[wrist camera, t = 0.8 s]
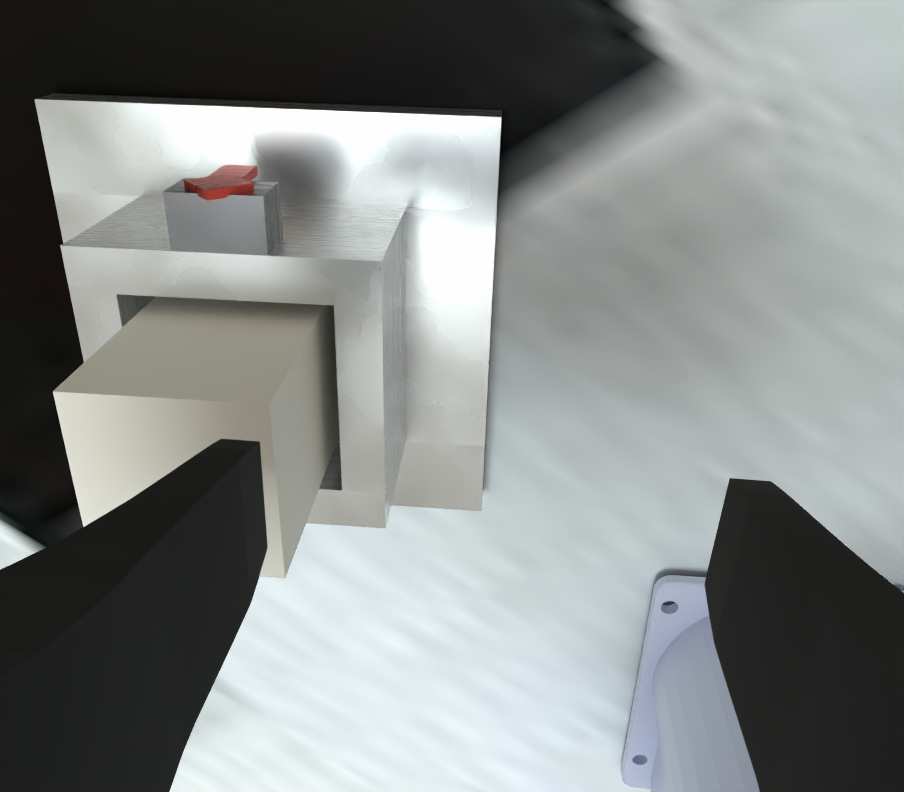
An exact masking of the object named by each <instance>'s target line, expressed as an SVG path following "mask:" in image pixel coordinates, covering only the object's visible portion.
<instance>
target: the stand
mask: <svg viewBox="0 0 904 792" xmlns="http://www.w3.org/2000/svg"><path fill="white" fill-rule="evenodd" d="M35 104H36V108H37V113H38V118H39V123H40V128H41V133H42V138H43V143H44V148H45V153H46V158H47V163H48V168H49V173H50V178H51V183H52V188H53V193H54V198H55V203H56V208H57V213H58V218H59V223H60V228H61V233H62V238H63V243H64V244H62V245H61V251H62V256H63V261H64V266H65V271H66V276H67V281H68V286H69V291H70V295H71V300H72V305H73V310H74V315H75V320H76V325H77V330H78V335H79V340H80V345H81V350H82V355H83V360H84V362H85V361H87V360H88V359H89V358H90V357H91V356H92V355H93V354H94V353H95V352H96V351H97V350H98V349H100V348H101V347H102V346H103V345H104V344H105V343H106V342H107V341H108V340H109V339H110V338H111V337H113V336H114V335H115V334H116V333H117V332H118V331H119V330H120V329H121V328H122V327H123V326H124V325H126V324H127V323H128V322H129V321H130V320H131V319H132V318H133V317H134V316H135V315H136V314H137V313H138V312H140V311H141V310H142V309H143V308H144V307H145V306H146V305H147V304H148V303H149V302H150V301H151V300H153V299H154V298H155V297H156V296H159V297H178V298H198V299H217V300H237V301H256V302H276V303H295V304H315V305H334V320H335V342H336V365H337V387H338V410H339V432H340V435H339V438H338V440H337V443H336V445H335V448H334V451H333V453H332V456H331V459H330V461H329V464H328V466H327V469H326V472H325V474H324V477H323V480H322V482H321V485H320V487H319V490H318V493H317V495H316V498H315V501H314V503H313V506H312V509H311V511H310V514H309V516H308V519H307V522H306V523H315V524H330V525H345V526H360V527H376V528H386V523H387V519H388V515H389V511H390V506H391V505H398V506H414V507H429V508H445V509H461V510H476V511H481V506H482V492H483V473H484V453H485V434H486V414H487V395H488V375H489V356H490V336H491V317H492V297H493V278H494V259H495V239H496V220H497V200H498V181H499V161H500V142H501V122H502V110H481V109H455V108H429V107H402V106H376V105H350V104H324V103H298V102H272V101H246V100H220V99H194V98H168V97H142V96H116V95H90V94H63V93H55V94H51V95H48V96H44V97H41V98H37V99H35Z"/></svg>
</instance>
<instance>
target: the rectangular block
mask: <svg viewBox="0 0 904 792" xmlns="http://www.w3.org/2000/svg"><path fill="white" fill-rule="evenodd" d="M53 394H54V399H55V403H56V408H57V412H58V416H59V421H60V425H61V430H62V434H63V439H64V443H65V447H66V452H67V456H68V461H69V465H70V469H71V474H72V478H73V483H74V487H75V492H76V496H77V500H78V505H79V509H80V514H81V518H82V522H83V527H85V526H86V525H88V524H90V523H91V522H93V521H95V520H96V519H98V518H100V517H101V516H103V515H105V514H106V513H108V512H110V511H111V510H113V509H115V508H116V507H118V506H119V505H121V504H123V503H124V502H126V501H128V500H129V499H131V498H132V497H134V496H136V495H137V494H139V493H140V492H142V491H143V490H145V489H146V488H148V487H149V486H151V485H152V484H154V483H155V482H157V481H158V480H160V479H161V478H163V477H164V476H166V475H167V474H169V473H170V472H171V471H173V470H174V469H176V468H177V467H179V466H180V465H182V464H183V463H185V462H186V461H187V460H189V459H190V458H192V457H193V456H195V455H196V454H198V453H199V452H201V451H202V450H204V449H205V448H207V447H208V446H210V445H211V444H213V443H215V442H216V441H218V440H220V439H234V440H246V441H259V442H260V450H261V464H262V477H263V491H264V504H265V518H266V531H267V545H268V548H267V552H266V555H265V559H264V562H263V565H262V569H261V572H260V576H261V577H275V578H285V577H286V574H287V572H288V569H289V566H290V564H291V561H292V558H293V556H294V553H295V551H296V548H297V545H298V543H299V540H300V537H301V535H302V532H303V530H304V527H305V524H306V522H307V519H308V516H309V514H310V511H311V509H312V506H313V503H314V501H315V498H316V495H317V493H318V490H319V487H320V485H321V482H322V480H323V477H324V474H325V472H326V469H327V466H328V464H329V461H330V459H331V456H332V453H333V451H334V448H335V445H336V443H337V440H338V438H339V435H340V432H339V410H338V387H337V365H336V342H335V320H334V305H315V304H295V303H276V302H256V301H237V300H217V299H198V298H178V297H159V296H156V297H155V298H154V299H153V300H151V301H150V302H149V303H148V304H147V305H146V306H145V307H144V308H143V309H142V310H141V311H140V312H138V313H137V314H136V315H135V316H134V317H133V318H132V319H131V320H130V321H129V322H128V323H127V324H126V325H124V326H123V327H122V328H121V329H120V330H119V331H118V332H117V333H116V334H115V335H114V336H113V337H111V338H110V339H109V340H108V341H107V342H106V343H105V344H104V345H103V346H102V347H101V348H100V349H98V350H97V351H96V352H95V353H94V354H93V355H92V356H91V357H90V358H89V359H88V360H87V361H85V362H84V363H83V364H82V365H81V366H80V367H79V368H78V369H77V370H76V371H75V372H74V373H72V374H71V375H70V376H69V377H68V378H67V379H66V380H65V381H64V382H63V383H62V384H61V385H59V386H58V387H57V388H56V389H55V390H54V391H53Z"/></svg>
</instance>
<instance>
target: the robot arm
mask: <svg viewBox="0 0 904 792" xmlns="http://www.w3.org/2000/svg"><path fill="white" fill-rule="evenodd" d="M267 548H268V545H267V531H266V518H265V504H264V491H263V477H262V464H261V450H260V442H259V441H246V440H234V439H220V440H218V441H216V442H215V443H213V444H211V445H210V446H208V447H207V448H205V449H204V450H202V451H201V452H199V453H198V454H196V455H195V456H193V457H192V458H190V459H189V460H187V461H186V462H185V463H183V464H182V465H180V466H179V467H177V468H176V469H174V470H173V471H171V472H170V473H169V474H167V475H166V476H164V477H163V478H161V479H160V480H158V481H157V482H155V483H154V484H152V485H151V486H149V487H148V488H146V489H145V490H143V491H142V492H140V493H139V494H137V495H136V496H134V497H132V498H131V499H129V500H128V501H126V502H124V503H123V504H121V505H119V506H118V507H116V508H115V509H113V510H111V511H110V512H108V513H106V514H105V515H103V516H101V517H100V518H98V519H96V520H95V521H93V522H91V523H90V524H88V525H86V526H85V527H83V528H81V529H80V530H78V531H76V532H74V533H73V534H71V535H69V536H67V537H65V538H64V539H62V540H60V541H58V542H56V543H54V544H52V545H50V546H48V547H47V548H45V549H43V550H41V551H38V552H36V553H34V554H32V555H30V556H28V557H26V558H24V559H22V560H20V561H18V562H16V563H14V564H12V565H10V566H7V567H5V568H3V569H1V570H0V792H169V791H170V788H171V785H172V782H173V780H174V777H175V774H176V771H177V768H178V765H179V762H180V759H181V756H182V754H183V751H184V748H185V746H186V744H187V741H188V739H189V736H190V734H191V732H192V729H193V727H194V724H195V722H196V720H197V718H198V716H199V714H200V711H201V709H202V707H203V705H204V703H205V701H206V699H207V696H208V694H209V692H210V690H211V688H212V686H213V684H214V682H215V679H216V677H217V675H218V673H219V671H220V669H221V667H222V664H223V662H224V660H225V658H226V656H227V654H228V652H229V650H230V647H231V645H232V643H233V641H234V639H235V637H236V634H237V632H238V630H239V628H240V626H241V624H242V621H243V619H244V617H245V615H246V613H247V610H248V608H249V606H250V604H251V601H252V598H253V595H254V591H255V588H256V585H257V582H258V579H259V576H260V572H261V569H262V565H263V562H264V559H265V555H266V552H267ZM666 601H673V602H674V603H673V604H671V605H663V603H665V602H666ZM621 773H622V780H623V782H624V783H625V784H627V785H628V786H631V787H638V788H650V789H651V792H904V591H902V590H899V589H898V588H897V587H895V586H894V585H893V584H891V583H890V582H889V581H888V580H886V579H885V578H884V577H883V576H881V575H880V574H879V573H878V572H877V571H875V570H874V569H873V568H872V567H870V566H869V565H868V564H867V563H866V562H864V561H863V560H862V559H861V558H860V557H858V556H857V555H856V554H855V553H854V552H852V551H851V550H850V549H849V548H848V547H847V546H845V545H844V544H843V543H842V542H841V541H840V540H839V539H837V538H836V537H835V536H834V535H833V534H832V533H830V532H829V531H828V530H827V529H826V528H825V527H824V526H823V525H821V524H820V523H819V522H818V521H817V520H816V519H815V518H813V517H812V516H811V515H810V514H809V513H808V512H807V511H806V510H804V509H803V508H802V507H801V506H800V505H799V504H798V503H796V502H795V501H794V500H793V499H792V498H791V497H790V496H788V495H787V494H786V493H785V492H784V491H782V490H781V489H780V488H779V487H777V486H776V485H775V484H774V483H772V482H771V481H758V480H745V479H732V478H730V480H729V484H728V488H727V492H726V496H725V501H724V505H723V509H722V513H721V517H720V521H719V526H718V530H717V534H716V538H715V542H714V546H713V551H712V555H711V559H710V563H709V567H708V571H707V576H706V577H694V576H679V575H668V576H664V577H661V578H660V579H659V580H657V581H656V583H655V585H654V589H653V594H652V600H651V606H650V611H649V617H648V622H647V628H646V633H645V639H644V644H643V650H642V656H641V661H640V667H639V672H638V678H637V683H636V689H635V694H634V700H633V706H632V711H631V717H630V722H629V728H628V733H627V739H626V744H625V750H624V755H623V761H622V767H621Z"/></svg>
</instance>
